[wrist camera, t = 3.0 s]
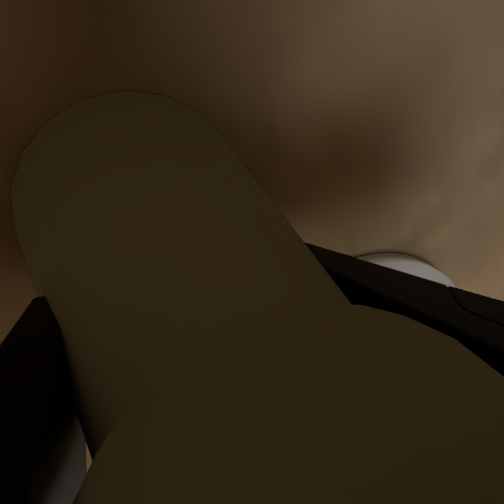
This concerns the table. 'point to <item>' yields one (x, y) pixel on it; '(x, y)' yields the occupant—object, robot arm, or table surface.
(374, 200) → the table surface
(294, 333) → the brown peg
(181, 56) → the table surface
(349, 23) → the table surface
